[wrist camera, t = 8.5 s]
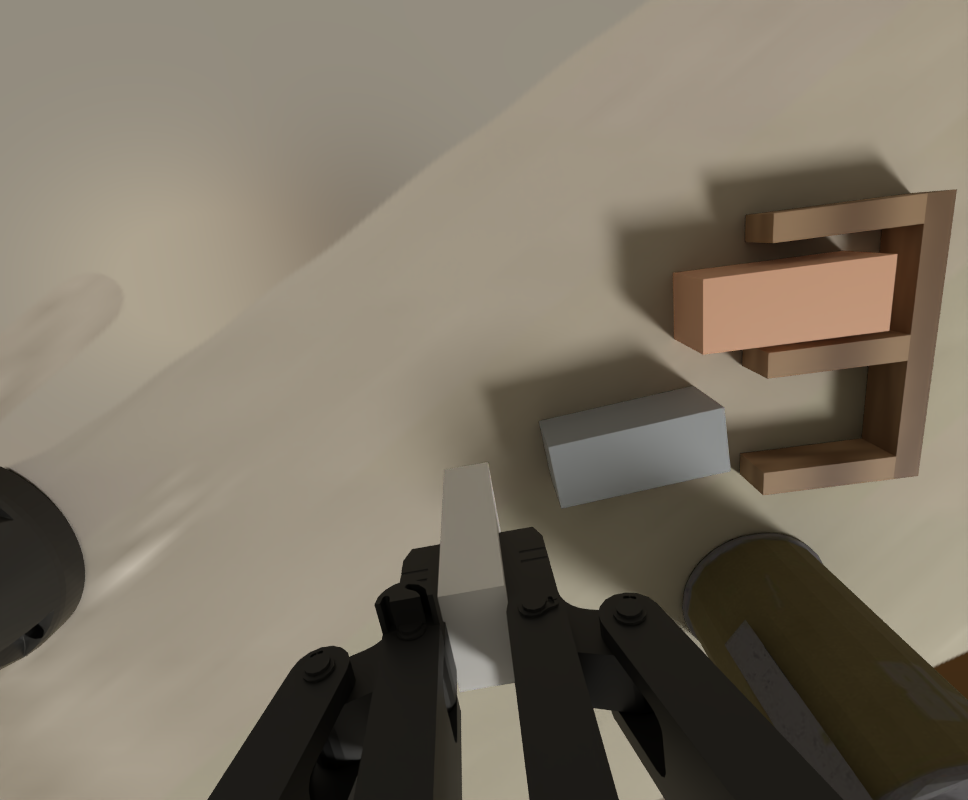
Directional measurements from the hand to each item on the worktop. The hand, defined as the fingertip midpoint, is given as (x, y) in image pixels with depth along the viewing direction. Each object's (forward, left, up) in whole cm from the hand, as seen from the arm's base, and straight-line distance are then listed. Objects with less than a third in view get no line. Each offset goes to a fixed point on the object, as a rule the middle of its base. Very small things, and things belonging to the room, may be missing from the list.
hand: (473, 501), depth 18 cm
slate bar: (+9, -5, -16) cm, 19 cm away
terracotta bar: (+18, +3, -16) cm, 24 cm away
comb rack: (+21, -1, -16) cm, 26 cm away
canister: (+18, -19, -16) cm, 30 cm away
